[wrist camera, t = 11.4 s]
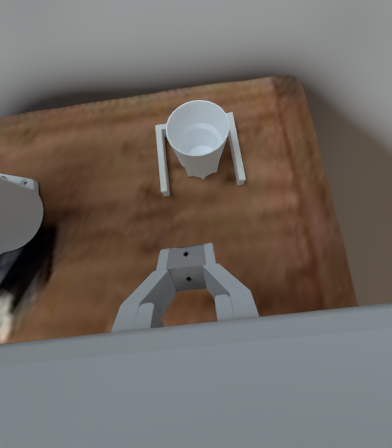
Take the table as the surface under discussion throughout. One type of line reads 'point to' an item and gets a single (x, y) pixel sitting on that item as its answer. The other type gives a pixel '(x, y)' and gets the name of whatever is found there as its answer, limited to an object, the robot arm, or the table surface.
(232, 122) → the white u-shaped frame
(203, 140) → the cup
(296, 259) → the table surface
